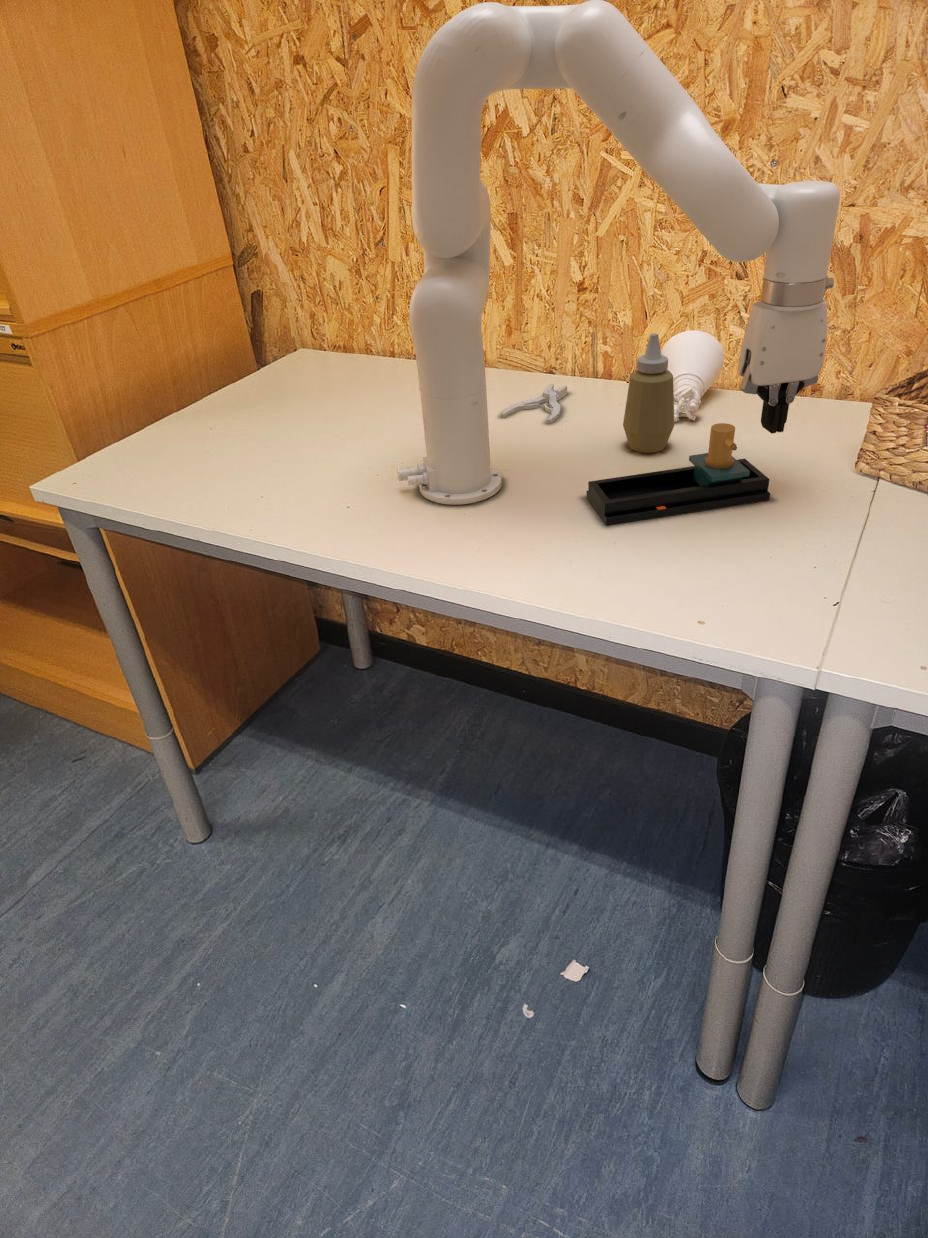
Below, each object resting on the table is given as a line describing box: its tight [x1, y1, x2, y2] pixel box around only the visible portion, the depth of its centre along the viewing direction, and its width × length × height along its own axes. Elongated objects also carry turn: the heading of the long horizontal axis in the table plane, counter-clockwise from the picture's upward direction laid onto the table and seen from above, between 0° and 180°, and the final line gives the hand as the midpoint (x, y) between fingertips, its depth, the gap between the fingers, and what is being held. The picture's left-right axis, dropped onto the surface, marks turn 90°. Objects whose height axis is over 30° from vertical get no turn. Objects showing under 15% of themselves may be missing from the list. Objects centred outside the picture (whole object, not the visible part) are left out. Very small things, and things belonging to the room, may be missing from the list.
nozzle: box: [688, 422, 750, 486], centre depth 115 cm, size 6×8×8 cm
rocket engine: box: [660, 330, 725, 423], centre depth 144 cm, size 12×12×18 cm
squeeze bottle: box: [622, 333, 675, 453], centre depth 128 cm, size 8×8×18 cm
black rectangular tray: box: [585, 458, 771, 526], centre depth 117 cm, size 24×9×3 cm, turn 101°
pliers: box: [501, 383, 568, 425], centre depth 151 cm, size 10×2×15 cm
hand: (772, 429), depth 114 cm, fingers closed
